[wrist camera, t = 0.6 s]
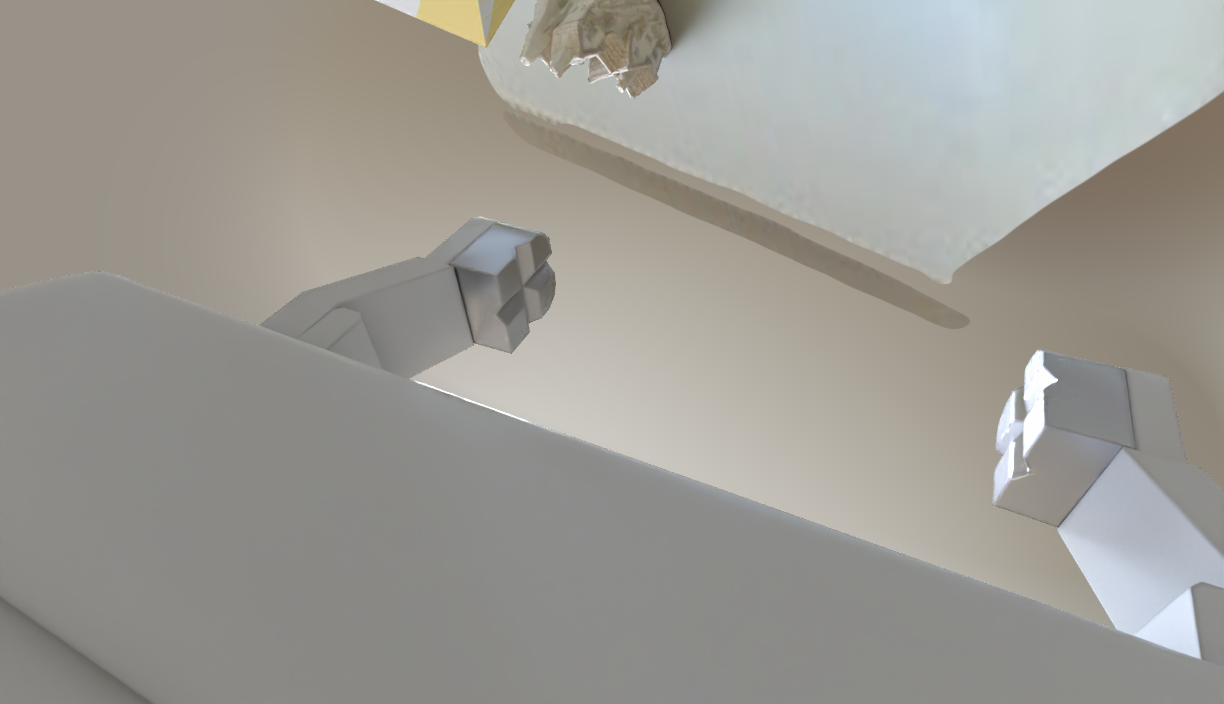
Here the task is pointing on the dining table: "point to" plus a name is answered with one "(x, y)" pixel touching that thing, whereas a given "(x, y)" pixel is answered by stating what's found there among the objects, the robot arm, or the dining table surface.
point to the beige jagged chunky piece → (600, 39)
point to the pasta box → (458, 15)
